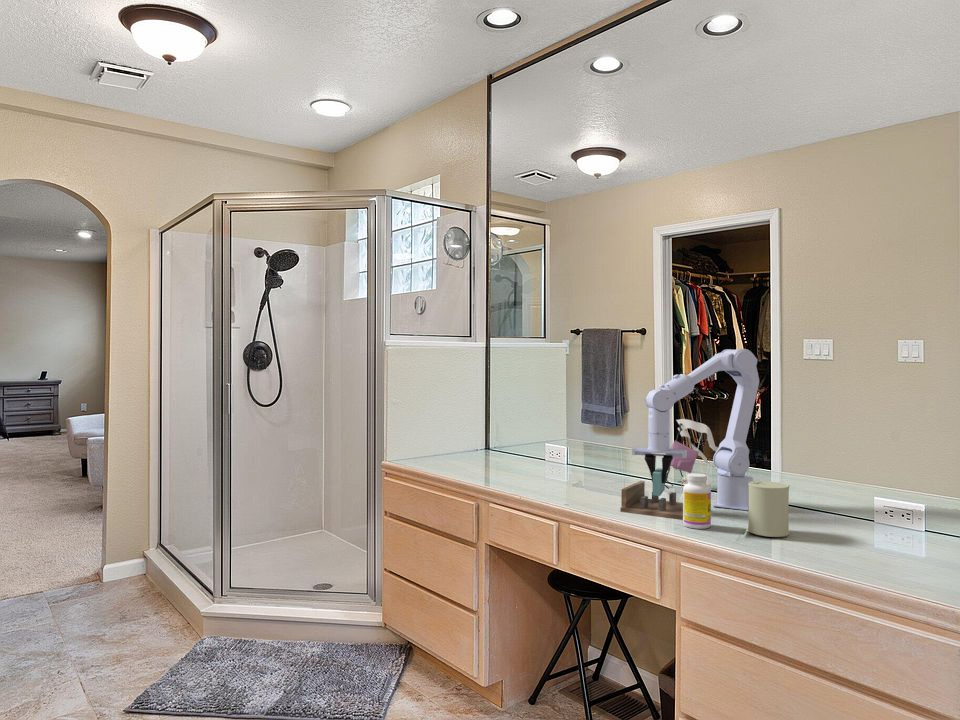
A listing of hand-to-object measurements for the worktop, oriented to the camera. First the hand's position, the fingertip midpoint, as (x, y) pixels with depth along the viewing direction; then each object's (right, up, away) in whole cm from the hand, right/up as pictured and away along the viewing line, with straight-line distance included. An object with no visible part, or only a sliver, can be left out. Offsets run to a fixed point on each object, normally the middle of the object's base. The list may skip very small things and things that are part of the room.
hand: (658, 482), depth 190 cm
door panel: (0, -3, 0) cm, 3 cm away
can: (+20, -8, -24) cm, 32 cm away
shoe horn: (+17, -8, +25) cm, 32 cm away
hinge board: (+1, -8, -1) cm, 8 cm away
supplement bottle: (+5, -8, -19) cm, 21 cm away
